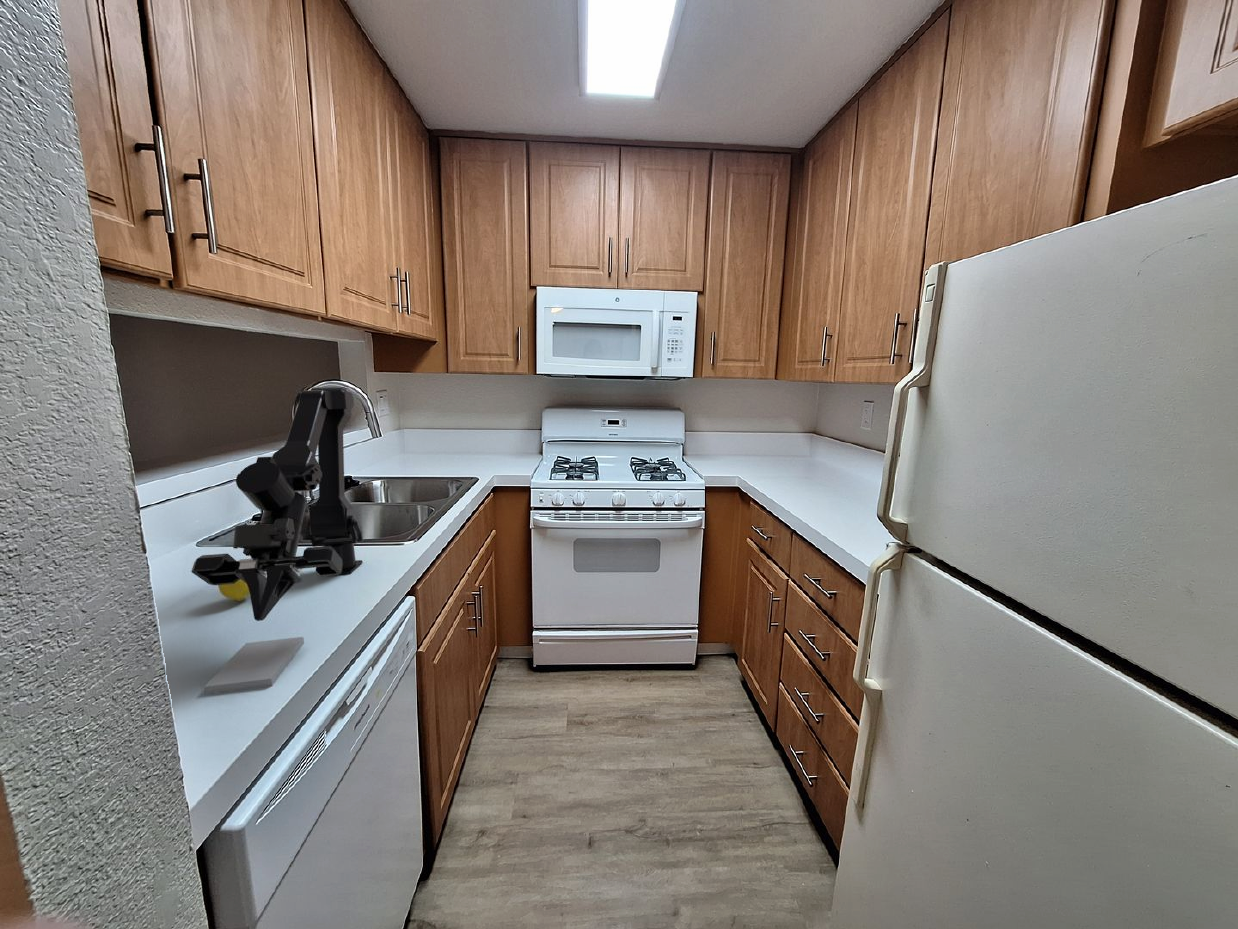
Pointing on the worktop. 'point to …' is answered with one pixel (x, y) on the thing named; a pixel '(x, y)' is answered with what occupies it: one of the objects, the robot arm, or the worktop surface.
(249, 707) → the worktop surface
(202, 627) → the worktop surface
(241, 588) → the lemon
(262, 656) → the tile
